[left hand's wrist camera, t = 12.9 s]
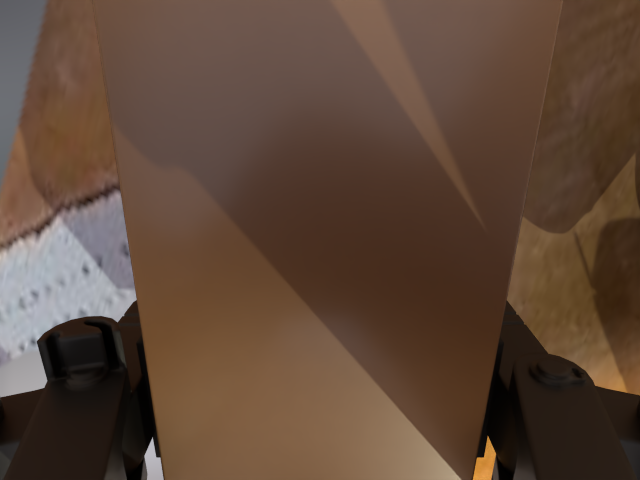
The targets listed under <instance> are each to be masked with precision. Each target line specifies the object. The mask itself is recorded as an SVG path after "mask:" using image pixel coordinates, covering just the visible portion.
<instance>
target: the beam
mask: <svg viewBox="0 0 640 480" xmlns="http://www.w3.org/2000/svg"><path fill="white" fill-rule="evenodd" d="M92 3H93V10H94V17H95V23H96V30H97V37H98V44H99V50H100V57H101V64H102V70H103V77H104V84H105V90H106V97H107V104H108V110H109V117H110V124H111V130H112V137H113V144H114V150H115V157H116V164H117V170H118V177H119V184H120V190H121V197H122V204H123V210H124V217H125V224H126V230H127V237H128V244H129V250H130V257H131V264H132V270H133V277H134V284H135V290H136V297H137V304H138V310H139V317H140V324H141V331H142V337H143V344H144V351H145V357H146V364H147V371H148V377H149V384H150V391H151V397H152V404H153V411H154V417H155V424H156V431H157V437H158V444H159V451H160V457H161V464H162V470H163V477H164V480H473V475H474V470H475V465H476V459H477V454H478V449H479V443H480V438H481V433H482V428H483V422H484V417H485V412H486V406H487V401H488V396H489V390H490V385H491V380H492V375H493V369H494V364H495V359H496V353H497V348H498V343H499V338H500V332H501V327H502V322H503V316H504V311H505V306H506V300H507V295H508V290H509V285H510V279H511V274H512V269H513V263H514V258H515V253H516V248H517V242H518V237H519V232H520V226H521V221H522V216H523V210H524V205H525V200H526V195H527V189H528V184H529V179H530V173H531V168H532V163H533V158H534V152H535V147H536V142H537V136H538V131H539V126H540V121H541V115H542V110H543V105H544V99H545V94H546V89H547V83H548V78H549V73H550V68H551V62H552V57H553V52H554V46H555V41H556V36H557V31H558V25H559V20H560V15H561V9H562V4H563V0H92Z"/></svg>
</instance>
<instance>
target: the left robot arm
mask: <svg viewBox="0 0 640 480" xmlns="http://www.w3.org/2000/svg"><path fill="white" fill-rule="evenodd" d="M37 344H38V348H39V351H40V355H41V359H42V362H43V366H44V370H45V373H46V377H47V383H46V385H45V388H43V389H39V390H35V391H31V392H25V393H20V394H15V395H11V396H6V397H1V398H0V480H147V469H146V463H145V458H144V455H145V453H146V451H147V448H148V446H149V444H150V442H151V439H152V437H153V440H154V446H155V452H156V457H160V451H159V444H158V437H157V431H156V424H155V417H154V411H153V404H152V397H151V391H150V384H149V377H148V371H147V364H146V357H145V351H144V344H143V337H142V331H141V324H140V317H139V310H138V304H137V300H136V301H135V302H133V303H132V305H131V306H130V307H129V309H128V310H127V311H126V313H125V314H124V316H122V318H121V319H120V320H119V322H118V323H117V322H116V321H115V320H113V319H112V318H107V317H103V316H91V317H83V318H78V319H73V320H70V321H67V322H65V323H62V324H59V325H57V326H55V327H53V328H52V329H50V330H49V331H47V332H45V333H44V334H43V335H42V336H41V337H40V339H39V340H38V341H37ZM487 437H489V439H490V441H491V443H492V445H493V448H494V450H495V452H496V458H495V463H494V468H493V473H492V479H491V480H640V396H639V395H634V394H630V393H625V392H620V391H615V390H610V389H605V388H601V387H598V386H595V385H594V382H593V380H592V379H591V378H590V376H589V375H588V374H587V372H586V371H585V370H583V369H582V368H581V367H579V366H578V365H576V364H575V363H573V362H571V361H569V360H567V359H564V358H562V357H560V356H556V355H551V354H548V353H547V351H546V350H545V349H544V348H543V346H542V345H541V344H540V342H539V341H538V340H537V339H536V337H535V336H534V335H533V333H532V332H531V331H530V330H529V328H528V327H527V326H526V325H524V322H523V321H522V319H521V318H520V317H519V315H516V312H515V310H514V309H513V308H512V306H511V305H510V304H509V303H508V301H507V300H506V306H505V311H504V316H503V322H502V327H501V332H500V338H499V343H498V348H497V353H496V359H495V364H494V369H493V375H492V380H491V385H490V390H489V396H488V401H487V406H486V412H485V417H484V422H483V428H482V433H481V438H480V443H479V449H478V454H477V457H484V453H485V448H486V442H487Z"/></svg>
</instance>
